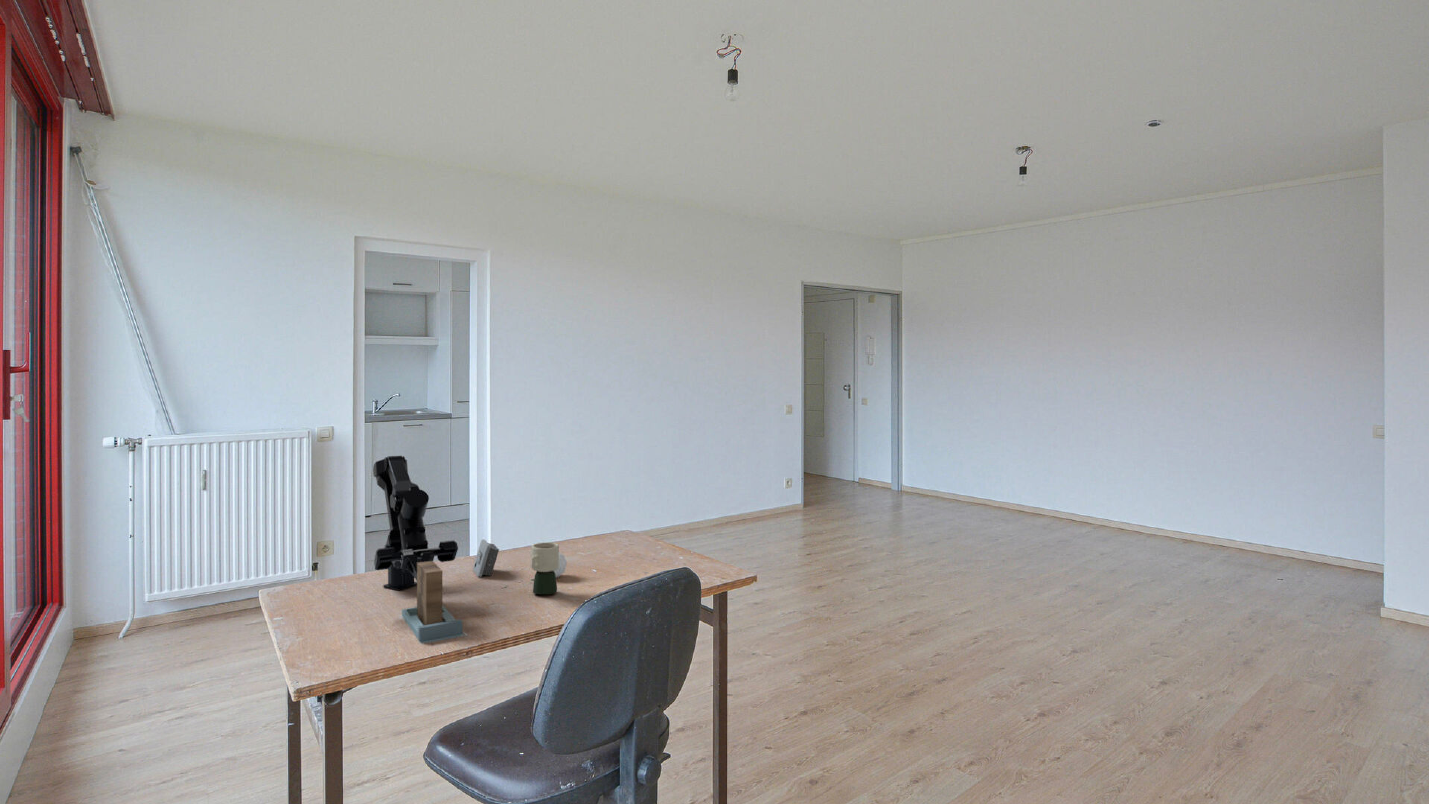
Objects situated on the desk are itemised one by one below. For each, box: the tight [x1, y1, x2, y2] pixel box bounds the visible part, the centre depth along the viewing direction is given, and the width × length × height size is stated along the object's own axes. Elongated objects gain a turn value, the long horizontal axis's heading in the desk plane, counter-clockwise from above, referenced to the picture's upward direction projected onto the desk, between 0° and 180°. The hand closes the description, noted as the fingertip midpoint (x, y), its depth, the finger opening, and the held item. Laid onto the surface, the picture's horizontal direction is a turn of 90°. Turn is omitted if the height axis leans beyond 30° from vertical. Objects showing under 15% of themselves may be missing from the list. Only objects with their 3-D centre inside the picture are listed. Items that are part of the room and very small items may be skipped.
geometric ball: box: [554, 552, 568, 579], centre depth 209 cm, size 8×8×8 cm
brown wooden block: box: [416, 560, 443, 625], centre depth 169 cm, size 10×4×13 cm, turn 33°
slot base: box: [401, 604, 464, 645], centre depth 167 cm, size 21×9×4 cm, turn 33°
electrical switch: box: [472, 538, 500, 578], centre depth 212 cm, size 9×5×9 cm, turn 28°
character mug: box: [530, 541, 560, 596], centre depth 193 cm, size 11×7×13 cm, turn 156°
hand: (422, 584), depth 176 cm, fingers closed
